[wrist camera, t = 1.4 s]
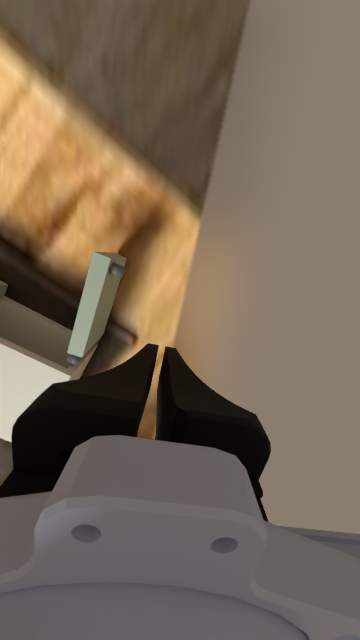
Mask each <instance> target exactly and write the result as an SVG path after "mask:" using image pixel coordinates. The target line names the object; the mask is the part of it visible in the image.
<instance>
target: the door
mask: <svg viewBox="0 0 360 640" xmlns="http://www.w3.org/2000/svg"><path fill="white" fill-rule="evenodd" d="M126 260H127V258H126V257H123V256H121V255H119V254H116V253H109V252H93V255H92V259H91V263H90V267H89V271H88V274H87V278H86V282H85V286H84V290H83V294H82V297H81V301H80V305H79V309H78V313H77V317H76V320H75V324H74V328H73V332H72V336H71V340H70V344H69V347H68V351H67V353H69V354H71V355H70V356H69V357H68V358H67V363H68V364H69V365H70V366H77V365H79V363H80V362H81V361H82V360H83V359H84V358H85V357H86V355H87V354H88V353H89V352H90V351H91V350H92V349H93V348H94V346H95V345H96V344H97V343H98V342H99V341H100V340H101V336H102V335H103V334H104V331H105V328H106V324H107V321H108V318H109V315H110V312H111V308H112V305H113V302H114V299H115V295H116V292H117V289H118V286H119V283H120V279H122V278H123V276H124V273H125V269H126V267H125V263H126Z"/></svg>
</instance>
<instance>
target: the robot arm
mask: <svg viewBox="0 0 360 640" xmlns="http://www.w3.org/2000/svg"><path fill="white" fill-rule="evenodd" d="M158 346H159V345H154V344H149V343H148V344H147V345H146V346H145V347H144V348H142V349H141V350H140V351H139V352H138V353H137V354H135V355H134V356H133V357H131V358H130V359H128V360H127V361H126V362H124V363H122V364H121V365H119V366H117V367H115V368H112V369H110V370H107V371H105V372H102V373H99V374H96V375H93V376H89V377H85V378H81V379H77V380H71V381H65V382H59V383H53V384H52V385H51V386H49V387H48V388H47V389H46V390H45V391H44V392H42V393H41V394H40V395H39V396H38V397H37V398H36V399H35V400H34V401H33V402H32V404H31V405H30V406H29V407H28V408H27V409H26V410H25V411H24V412H23V413H22V414H21V415H20V416H19V417H18V418H17V420H16V422H15V423H14V425H13V428H12V435H11V439H12V456H13V471H12V472H11V473H10V475H9V476H8V477H7V479H6V480H5V481H4V482H3V484H2V485H1V486H0V640H360V534H354V533H344V532H334V531H324V530H314V529H304V528H294V527H284V526H277V525H274V524H272V523H269V522H268V519H267V516H266V514H265V511H264V508H263V505H262V502H261V500H260V498H262V496H263V491H262V488H261V486H260V483H259V478H260V476H261V474H262V471H263V469H264V467H265V465H266V463H267V461H268V458H269V455H270V452H271V447H270V441H269V439H268V437H267V435H266V433H265V431H264V429H263V427H262V425H261V423H260V421H259V419H258V418H257V416H256V415H255V414H253V413H251V412H249V411H247V410H245V409H243V408H241V407H239V406H237V405H235V404H233V403H232V402H230V401H229V400H227V399H225V398H224V397H222V396H221V395H219V394H218V393H216V392H215V391H214V390H212V389H211V388H209V387H208V386H207V385H206V384H205V383H203V382H202V381H201V380H200V379H199V378H198V377H197V376H196V375H195V374H194V373H193V371H192V370H191V369H190V368H189V367H188V366H187V364H186V363H185V362H184V360H183V359H182V357H181V356H180V354H179V353H178V351H177V349H176V348H171V347H165V352H164V357H163V361H162V366H161V371H160V376H159V382H158V389H157V422H156V437H155V440H153V439H145V438H138V437H137V433H138V429H139V425H140V421H141V418H142V414H143V411H144V408H145V405H146V401H147V398H148V395H149V391H150V387H151V382H152V377H153V372H154V367H155V362H156V357H157V352H158Z"/></svg>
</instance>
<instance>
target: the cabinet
mask: <svg viewBox="0 0 360 640" xmlns="http://www.w3.org/2000/svg"><path fill="white" fill-rule="evenodd" d="M7 287H8V284H6V283H4V282H2V281H0V438H2V439H4V440H7V441H10V442H12V439H11V435H12V428H13V425H14V423H15V422H16V420H17V418H18V417H19V416H20V415H21V414H22V413H23V412H24V411H25V410H26V409H27V408H28V407H29V406H30V405H31V404H32V402H33V401H34V400H35V399H36V398H37V397H38V396H39V395H40V394H41V393H42V392H44V391H45V390H46V389H47V388H48V387H49V386H51V385H52V384H53V383H59V382H65V381H71V380H77V379H80V377H81V375H82V373H83V371H84V370H85V368H86V366H87V364H88V362H89V361H90V359H91V357H92V355H93V353H94V351H95V350H96V348H97V346H98V344H96V345H95V346H94V348H93V349H92V350H91V351H90V352H89V353H88V354H87V355H86V357H85V358H84V359H83V360H82V361H81V362H80V363H79V365H77V366H70V365H69V364H68V363H67V358H68V357H69V356H70V355H71V354H69V353H67V351H68V347H69V344H70V340H71V336H72V332H73V331H72V330H70V329H68V328H66V327H64V326H62V325H60V324H58V323H56V322H54V321H52V320H51V319H49V318H47V317H45V316H43V315H41V314H39V313H37V312H35V311H33V310H31V309H29V308H27V307H25V306H23V305H21V304H19V303H17V302H15V301H14V300H12V299H10V298H8V297H6V296H4V295H5V293H6V290H7Z"/></svg>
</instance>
